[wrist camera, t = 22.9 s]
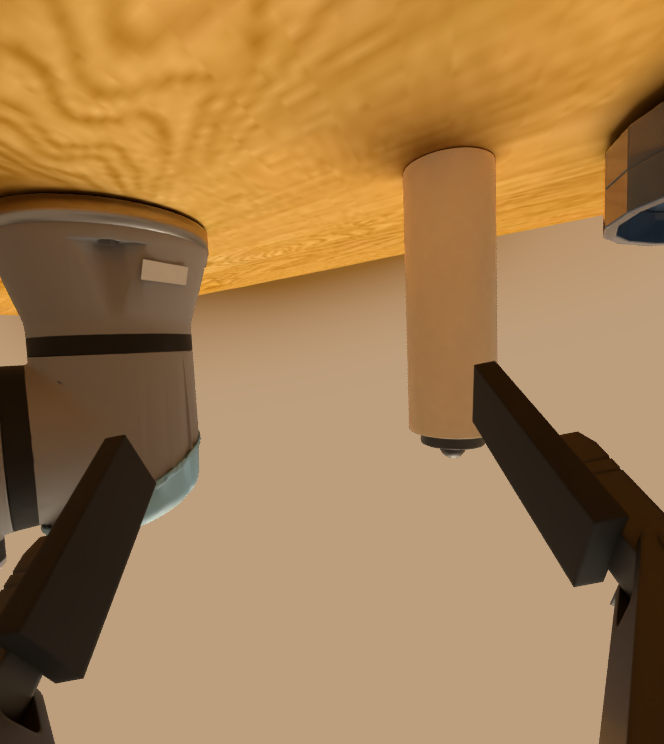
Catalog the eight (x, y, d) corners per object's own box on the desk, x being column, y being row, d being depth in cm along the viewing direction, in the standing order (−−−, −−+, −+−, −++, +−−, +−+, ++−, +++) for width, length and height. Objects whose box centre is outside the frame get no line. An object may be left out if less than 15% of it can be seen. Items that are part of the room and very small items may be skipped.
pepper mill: (406, 192, 26) (412, 445, 27) (398, 156, 21) (406, 468, 22) (489, 179, 24) (492, 447, 26) (502, 139, 19) (504, 473, 21)
